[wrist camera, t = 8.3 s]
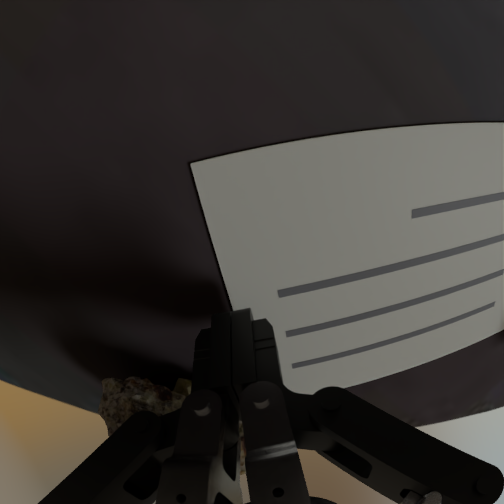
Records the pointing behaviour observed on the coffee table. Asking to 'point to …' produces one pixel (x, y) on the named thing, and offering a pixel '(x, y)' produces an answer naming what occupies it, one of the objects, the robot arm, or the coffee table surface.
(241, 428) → the mineral rock
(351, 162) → the letter
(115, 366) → the coffee table surface
